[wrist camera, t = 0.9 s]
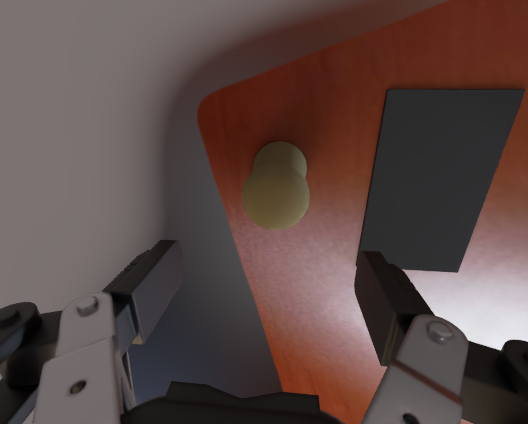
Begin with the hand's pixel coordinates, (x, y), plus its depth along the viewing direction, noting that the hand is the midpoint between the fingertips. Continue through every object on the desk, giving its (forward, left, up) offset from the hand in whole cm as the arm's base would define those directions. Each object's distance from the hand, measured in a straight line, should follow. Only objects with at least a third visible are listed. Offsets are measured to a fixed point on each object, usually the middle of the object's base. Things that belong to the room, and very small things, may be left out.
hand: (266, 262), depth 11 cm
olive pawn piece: (0, 0, -18) cm, 18 cm away
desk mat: (+2, +16, -18) cm, 24 cm away
